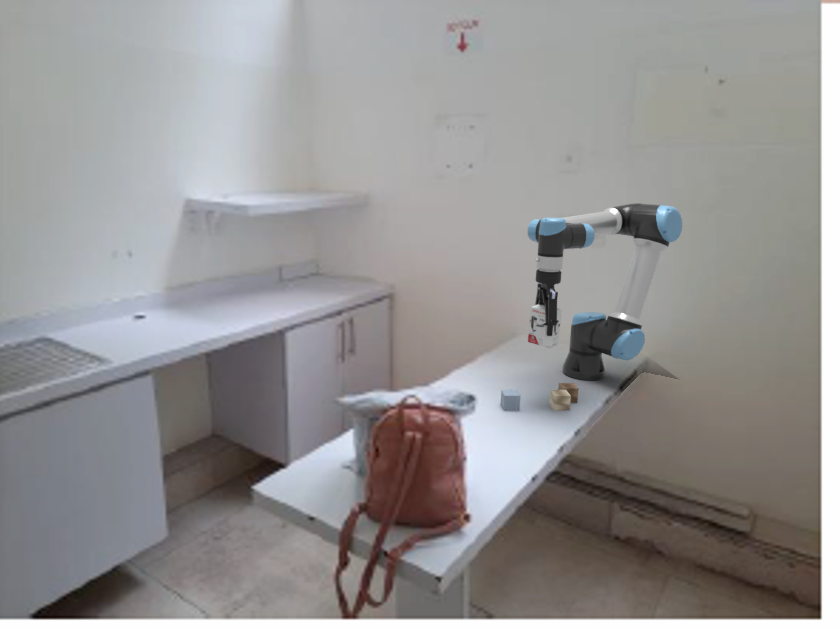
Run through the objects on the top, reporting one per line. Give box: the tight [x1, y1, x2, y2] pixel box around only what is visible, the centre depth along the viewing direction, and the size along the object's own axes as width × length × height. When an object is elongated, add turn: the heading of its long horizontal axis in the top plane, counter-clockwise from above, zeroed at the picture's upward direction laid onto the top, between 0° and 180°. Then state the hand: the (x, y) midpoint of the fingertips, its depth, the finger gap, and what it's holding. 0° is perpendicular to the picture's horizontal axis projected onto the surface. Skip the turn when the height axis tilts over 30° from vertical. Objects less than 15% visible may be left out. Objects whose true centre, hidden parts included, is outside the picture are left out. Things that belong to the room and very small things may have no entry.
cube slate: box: [500, 389, 521, 411], centre depth 182 cm, size 5×5×5 cm
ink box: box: [527, 304, 563, 349], centre depth 179 cm, size 9×5×12 cm, turn 45°
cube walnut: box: [557, 382, 580, 404], centre depth 190 cm, size 5×5×5 cm
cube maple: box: [548, 389, 571, 411], centre depth 183 cm, size 5×5×5 cm
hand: (543, 340), depth 180 cm, fingers closed on ink box, 9 cm apart
